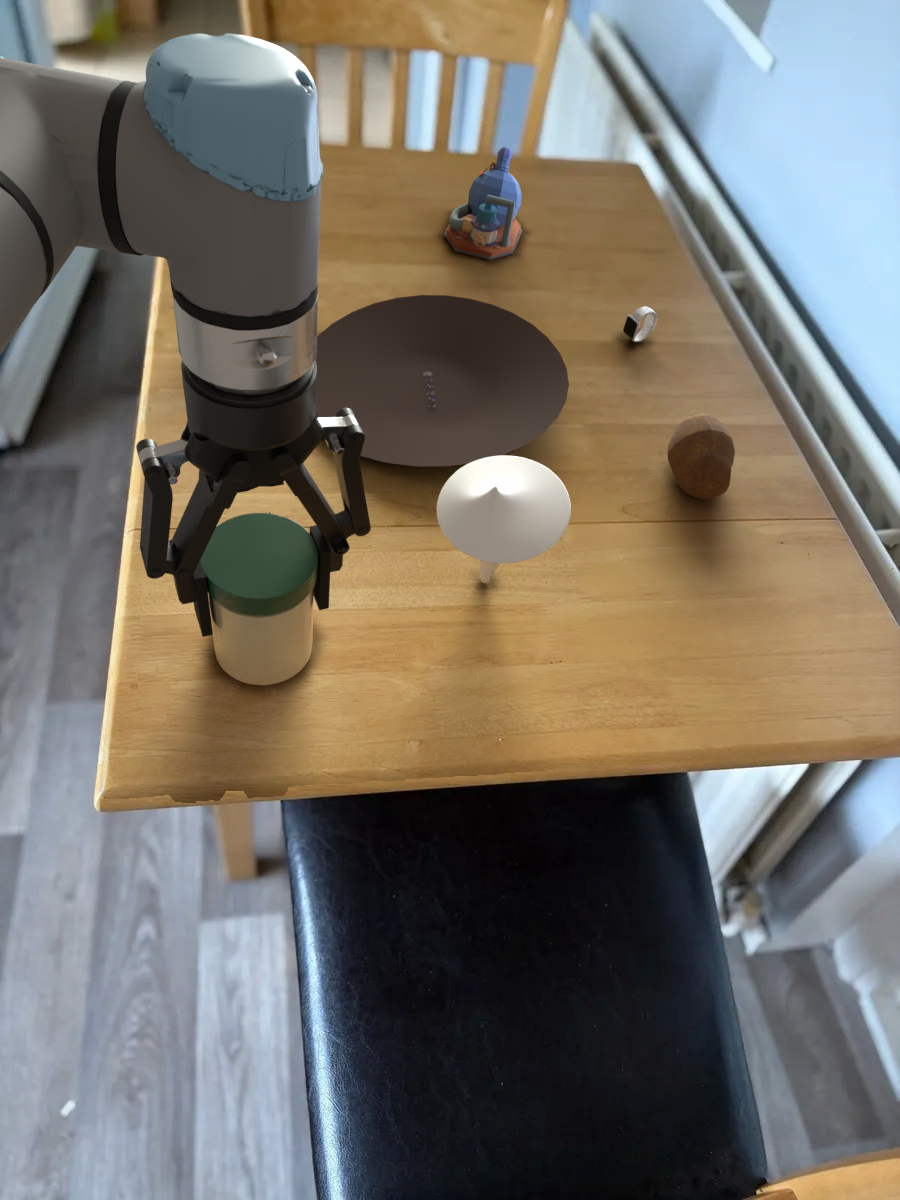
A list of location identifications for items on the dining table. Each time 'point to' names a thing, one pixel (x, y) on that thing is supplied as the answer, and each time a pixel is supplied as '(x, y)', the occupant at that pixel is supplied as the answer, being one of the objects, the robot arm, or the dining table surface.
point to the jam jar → (263, 642)
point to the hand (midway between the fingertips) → (262, 608)
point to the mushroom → (503, 510)
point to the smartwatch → (634, 324)
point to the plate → (440, 379)
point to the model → (488, 213)
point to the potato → (701, 456)
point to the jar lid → (260, 564)
